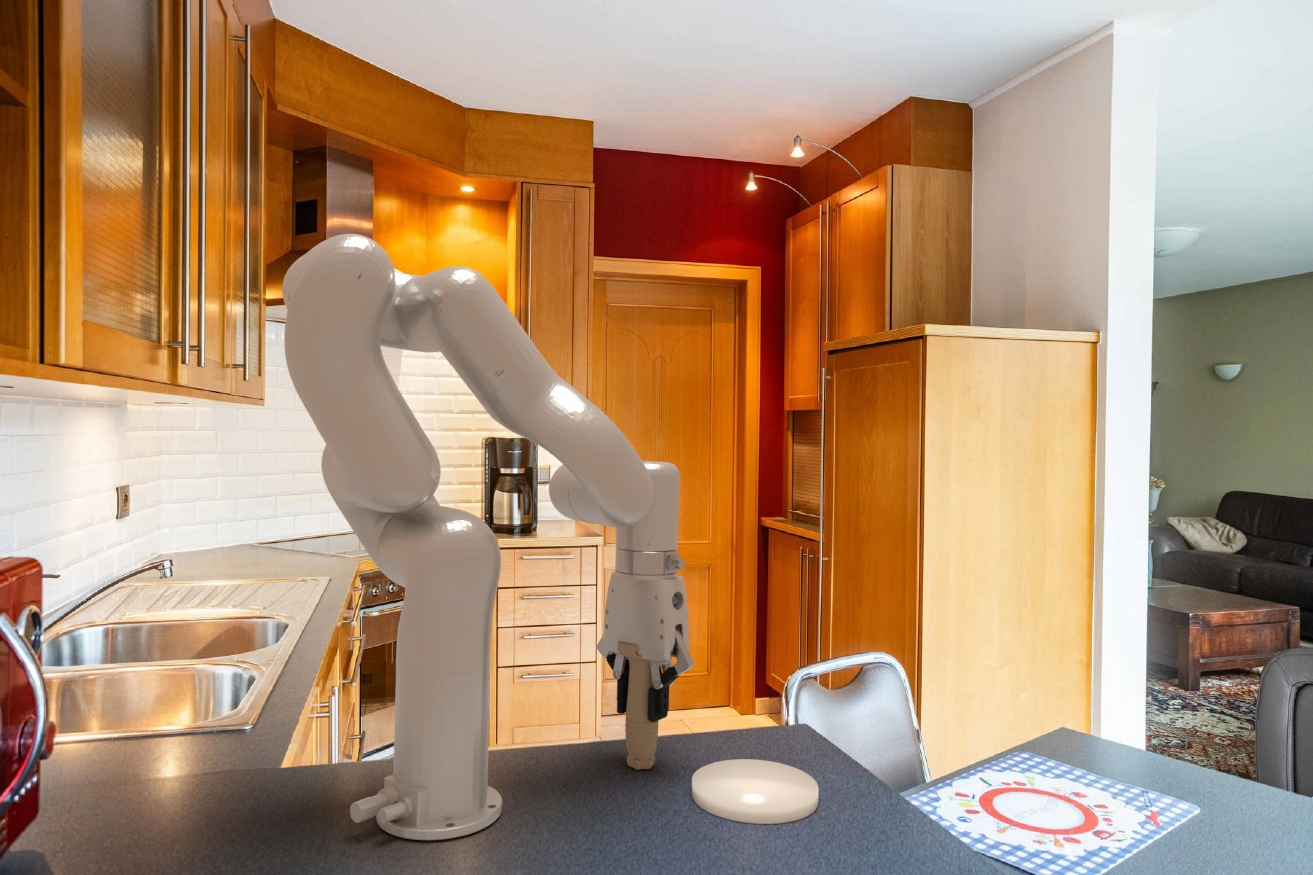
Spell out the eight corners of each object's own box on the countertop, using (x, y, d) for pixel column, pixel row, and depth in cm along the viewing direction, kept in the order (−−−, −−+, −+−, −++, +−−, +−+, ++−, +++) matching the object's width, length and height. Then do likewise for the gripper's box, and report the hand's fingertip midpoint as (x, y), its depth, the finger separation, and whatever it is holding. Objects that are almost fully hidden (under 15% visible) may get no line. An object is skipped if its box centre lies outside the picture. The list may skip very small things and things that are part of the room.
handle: (661, 776, 100) (665, 648, 100) (609, 769, 102) (612, 643, 102) (671, 762, 105) (674, 639, 105) (621, 755, 106) (624, 634, 106)
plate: (780, 836, 85) (781, 821, 85) (666, 799, 94) (667, 785, 94) (839, 792, 97) (839, 779, 97) (732, 762, 105) (733, 750, 105)
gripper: (721, 567, 101) (717, 722, 101) (612, 553, 111) (608, 694, 111) (686, 574, 95) (681, 738, 95) (573, 559, 105) (569, 708, 105)
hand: (642, 713), depth 103 cm, fingers closed on handle, 4 cm apart
